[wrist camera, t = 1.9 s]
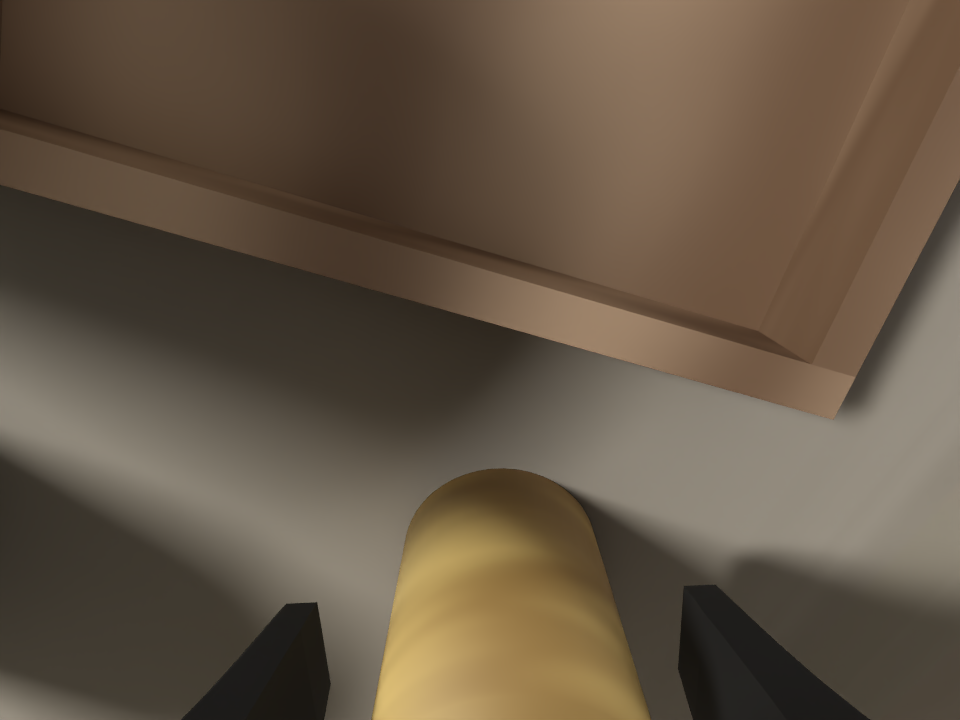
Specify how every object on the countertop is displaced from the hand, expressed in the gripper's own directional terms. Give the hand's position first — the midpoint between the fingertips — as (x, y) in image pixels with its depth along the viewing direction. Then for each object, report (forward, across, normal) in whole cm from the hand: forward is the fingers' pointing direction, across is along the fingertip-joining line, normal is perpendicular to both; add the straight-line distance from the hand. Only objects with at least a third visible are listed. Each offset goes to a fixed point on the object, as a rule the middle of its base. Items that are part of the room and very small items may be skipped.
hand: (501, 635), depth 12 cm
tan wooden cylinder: (+2, 0, 0) cm, 3 cm away
